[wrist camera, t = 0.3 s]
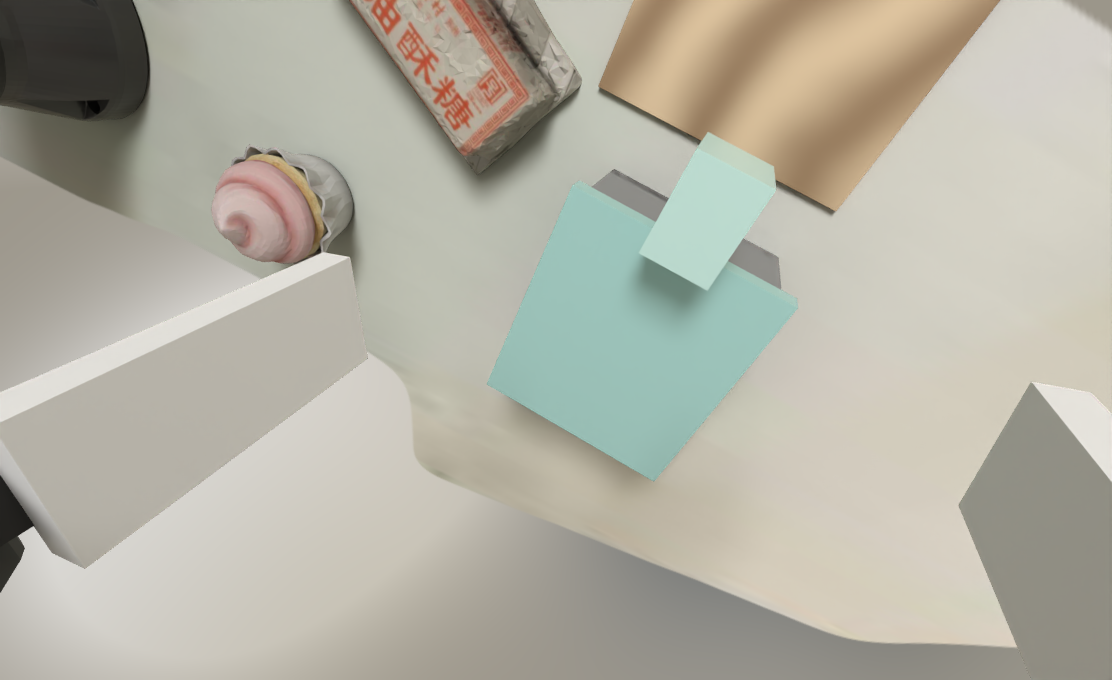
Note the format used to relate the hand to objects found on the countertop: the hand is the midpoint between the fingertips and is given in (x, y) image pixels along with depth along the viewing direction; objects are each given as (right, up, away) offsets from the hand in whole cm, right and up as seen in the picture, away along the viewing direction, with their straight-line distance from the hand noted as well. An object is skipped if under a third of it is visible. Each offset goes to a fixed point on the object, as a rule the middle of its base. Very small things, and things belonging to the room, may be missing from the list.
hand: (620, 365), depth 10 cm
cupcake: (-20, +13, +32) cm, 40 cm away
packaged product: (-8, +22, +22) cm, 32 cm away
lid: (+4, +2, +19) cm, 20 cm away
